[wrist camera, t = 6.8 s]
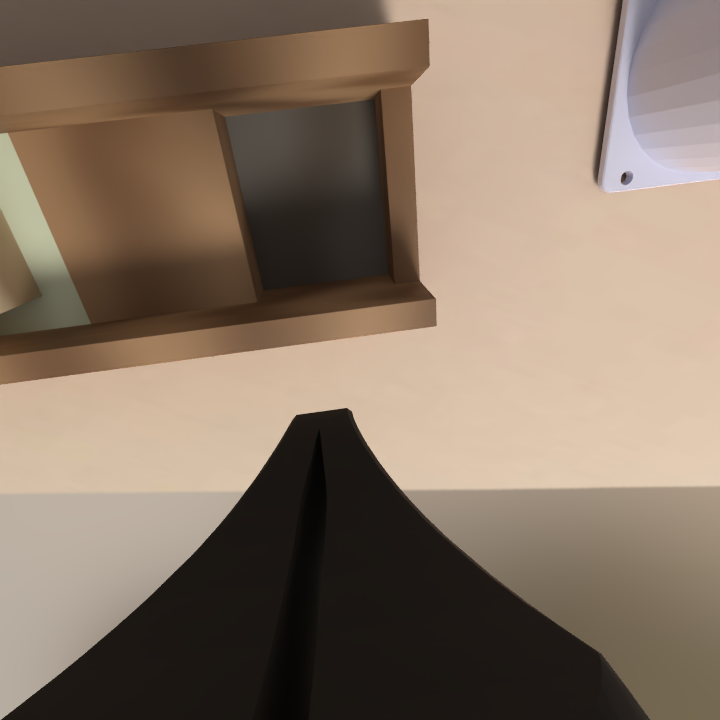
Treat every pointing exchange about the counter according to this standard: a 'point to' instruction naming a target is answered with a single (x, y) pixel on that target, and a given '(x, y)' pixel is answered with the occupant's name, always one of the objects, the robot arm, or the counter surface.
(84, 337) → the channel
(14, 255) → the birch block
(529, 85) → the counter surface
